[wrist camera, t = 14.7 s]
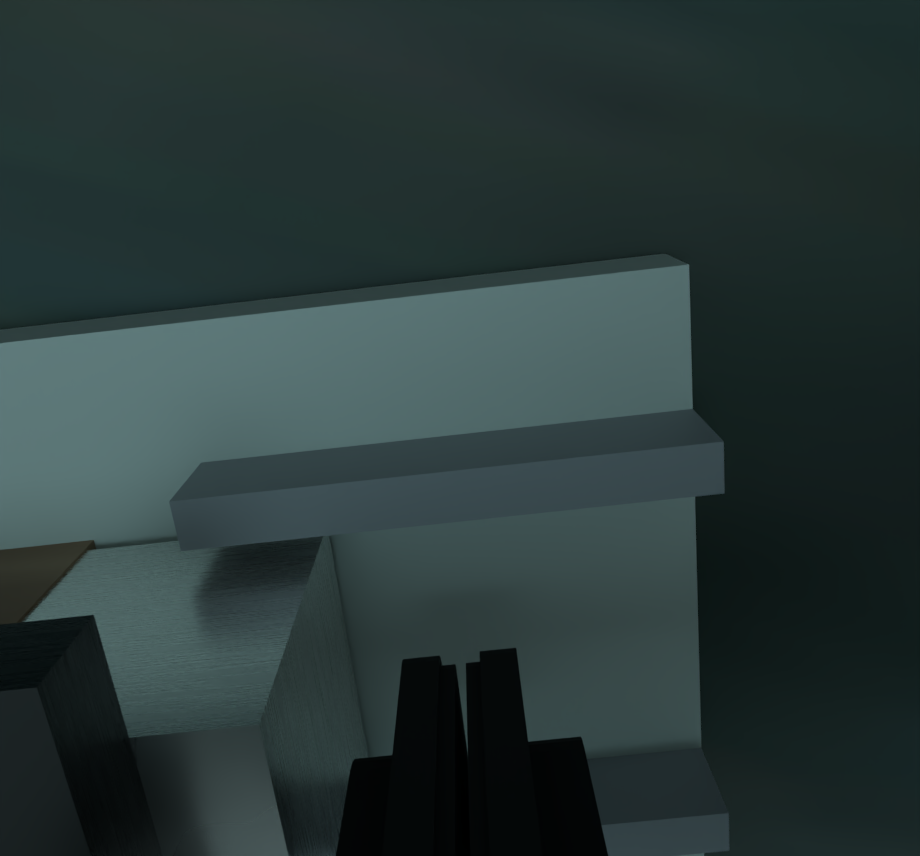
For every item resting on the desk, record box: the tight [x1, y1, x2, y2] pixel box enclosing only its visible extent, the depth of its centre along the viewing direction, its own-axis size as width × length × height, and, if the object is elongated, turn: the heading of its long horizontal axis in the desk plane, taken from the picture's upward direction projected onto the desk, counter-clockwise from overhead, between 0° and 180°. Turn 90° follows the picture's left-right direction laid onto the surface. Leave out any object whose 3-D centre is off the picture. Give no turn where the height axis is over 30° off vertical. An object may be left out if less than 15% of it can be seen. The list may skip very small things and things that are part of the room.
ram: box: [0, 536, 369, 856], centre depth 11 cm, size 4×8×6 cm, turn 6°
